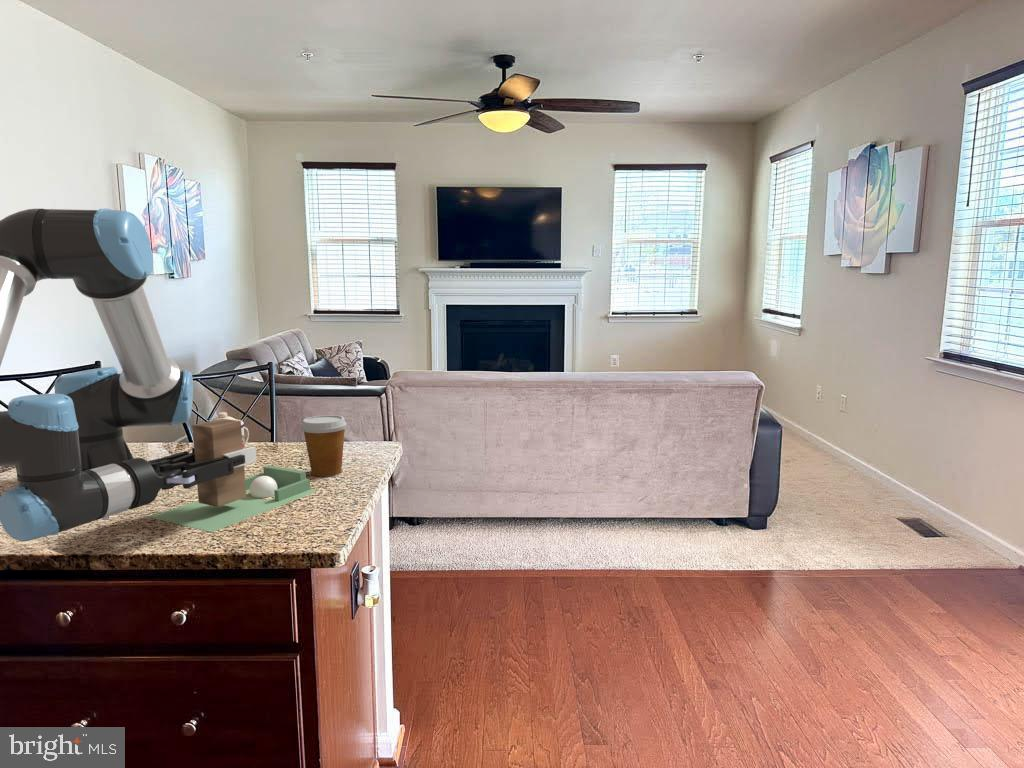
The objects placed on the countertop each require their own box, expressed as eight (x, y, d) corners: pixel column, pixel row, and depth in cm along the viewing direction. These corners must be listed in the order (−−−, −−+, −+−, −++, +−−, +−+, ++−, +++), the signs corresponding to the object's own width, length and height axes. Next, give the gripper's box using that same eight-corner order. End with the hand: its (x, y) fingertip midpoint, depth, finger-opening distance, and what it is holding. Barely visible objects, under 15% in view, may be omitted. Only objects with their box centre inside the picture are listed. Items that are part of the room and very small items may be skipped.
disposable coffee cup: (337, 480, 143) (334, 424, 141) (295, 478, 145) (292, 422, 143) (356, 467, 152) (353, 415, 150) (317, 465, 154) (314, 414, 152)
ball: (248, 471, 129) (267, 476, 133) (240, 497, 127) (260, 502, 132) (267, 475, 126) (286, 480, 131) (259, 501, 125) (278, 505, 129)
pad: (150, 525, 118) (147, 497, 117) (259, 487, 138) (258, 463, 138) (212, 540, 110) (210, 511, 109) (318, 498, 131) (317, 473, 130)
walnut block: (198, 502, 119) (192, 425, 117) (227, 493, 125) (221, 418, 122) (218, 506, 117) (212, 427, 115) (246, 496, 122) (240, 420, 120)
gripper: (88, 502, 109) (211, 466, 129) (161, 519, 100) (281, 478, 121) (83, 456, 107) (208, 427, 128) (157, 470, 99) (278, 436, 120)
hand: (243, 452), depth 124 cm, fingers closed on walnut block, 5 cm apart
